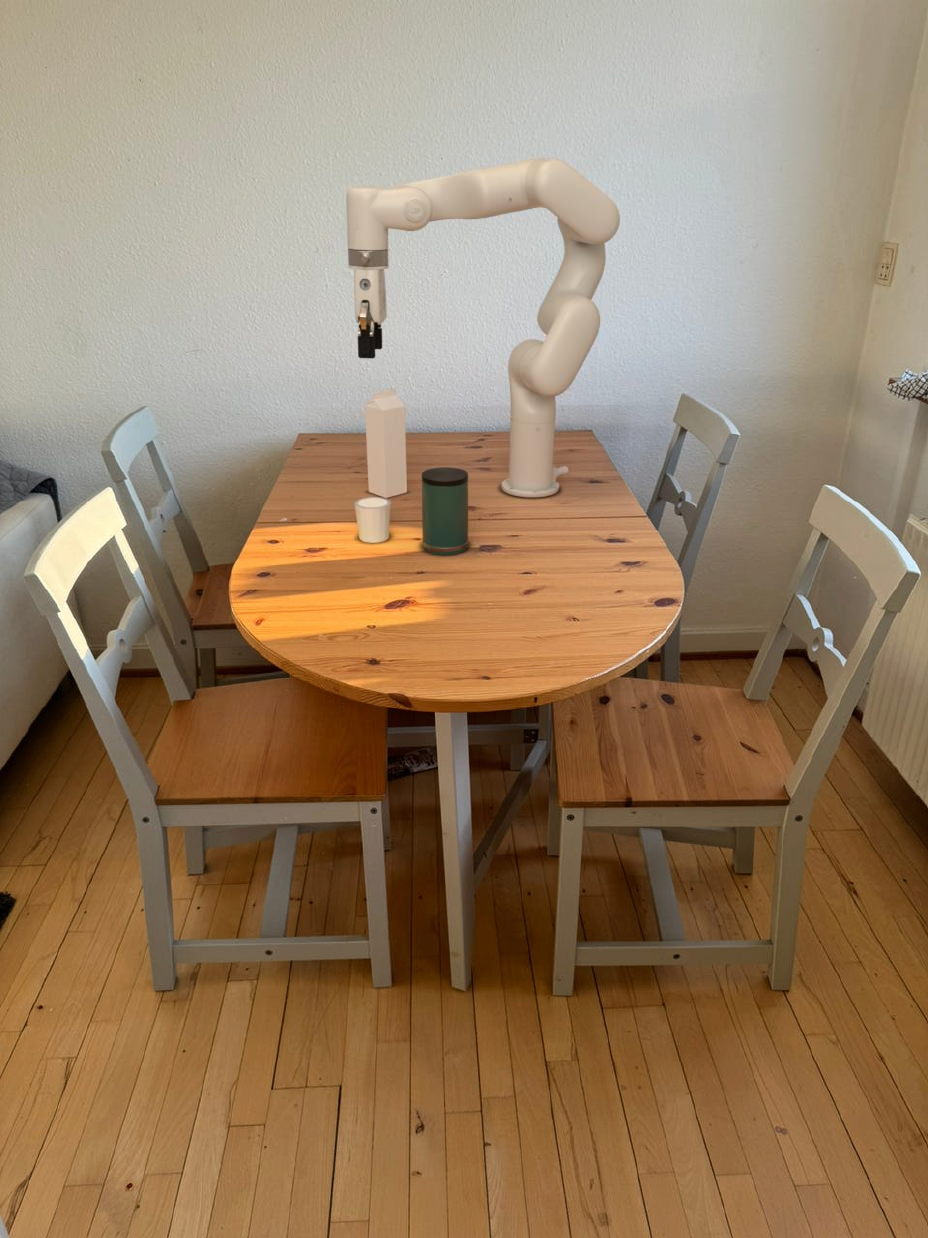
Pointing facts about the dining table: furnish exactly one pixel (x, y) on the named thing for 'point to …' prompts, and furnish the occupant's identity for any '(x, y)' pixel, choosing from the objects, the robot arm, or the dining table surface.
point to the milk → (386, 444)
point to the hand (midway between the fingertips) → (370, 353)
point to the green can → (445, 510)
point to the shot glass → (373, 519)
